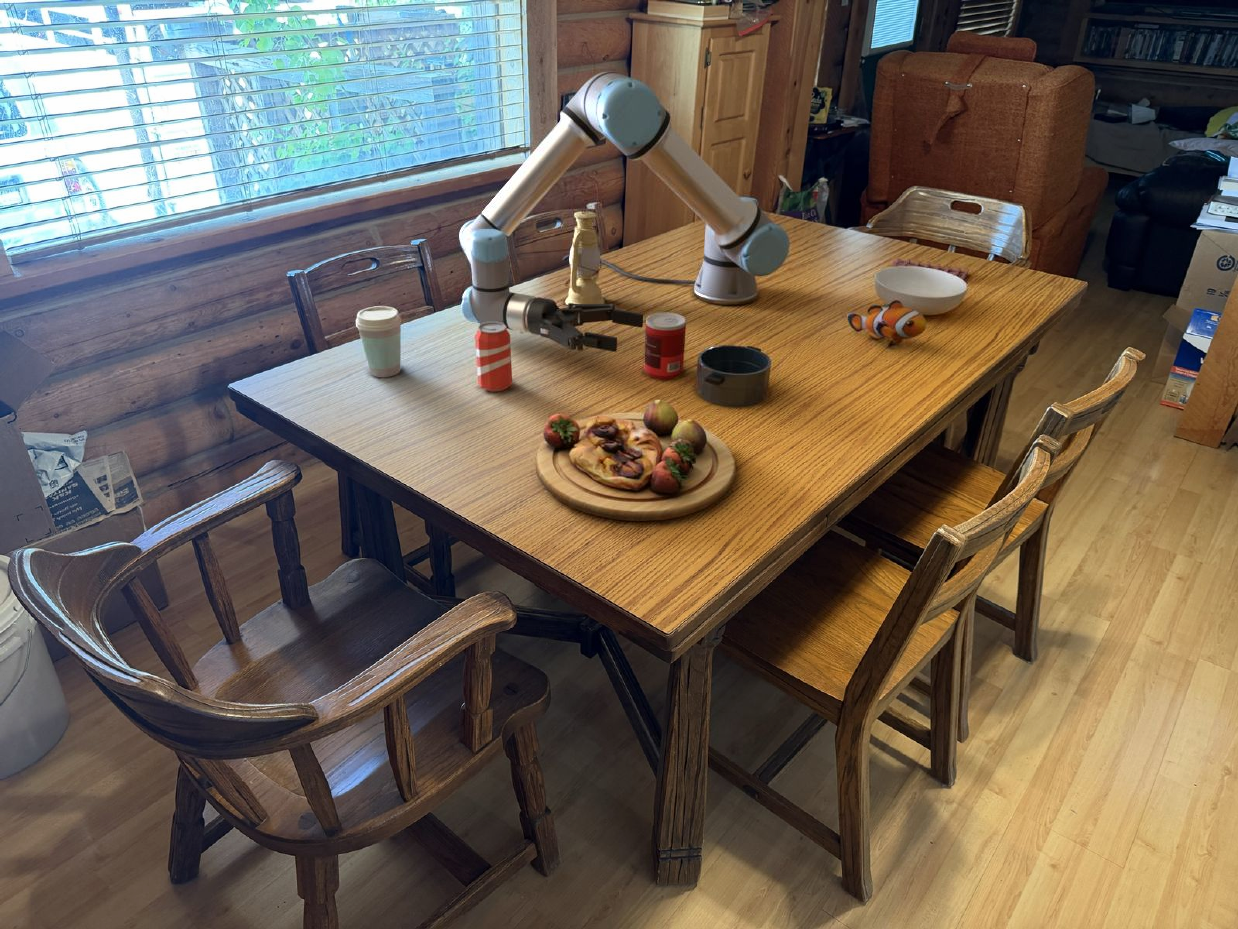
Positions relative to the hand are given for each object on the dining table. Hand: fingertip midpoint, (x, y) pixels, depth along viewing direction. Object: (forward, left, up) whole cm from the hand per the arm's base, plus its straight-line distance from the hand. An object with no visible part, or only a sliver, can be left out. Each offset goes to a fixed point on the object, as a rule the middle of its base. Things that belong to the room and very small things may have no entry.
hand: (630, 332), depth 172 cm
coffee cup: (-38, -30, -7) cm, 49 cm away
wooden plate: (+22, -34, -7) cm, 41 cm away
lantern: (-28, +24, -7) cm, 38 cm away
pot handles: (+22, +1, -2) cm, 22 cm away
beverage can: (-16, -23, -7) cm, 29 cm away
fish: (+38, +41, -7) cm, 57 cm away
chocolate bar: (+33, +94, -7) cm, 100 cm away
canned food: (+7, +1, -7) cm, 10 cm away
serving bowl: (+38, +66, -7) cm, 77 cm away
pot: (+22, +1, -7) cm, 23 cm away
